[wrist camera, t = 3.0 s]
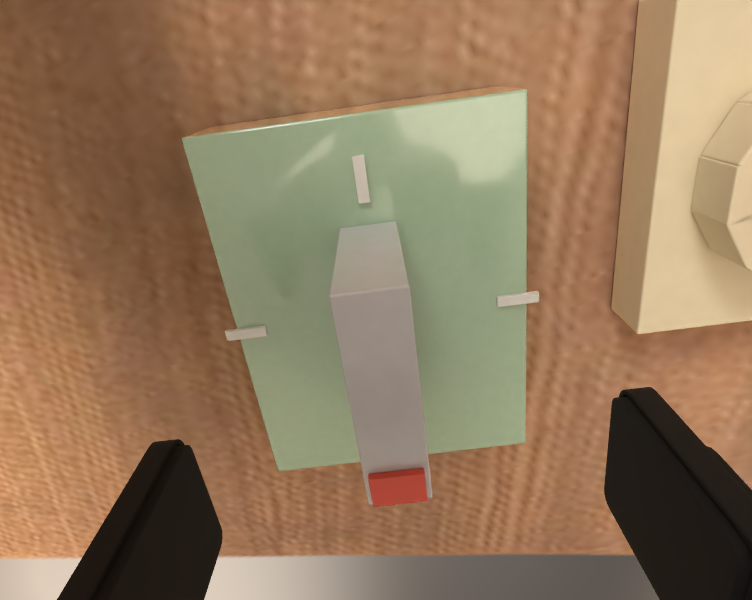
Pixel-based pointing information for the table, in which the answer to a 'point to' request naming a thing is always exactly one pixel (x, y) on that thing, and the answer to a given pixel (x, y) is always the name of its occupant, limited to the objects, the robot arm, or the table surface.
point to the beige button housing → (687, 169)
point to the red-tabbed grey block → (381, 363)
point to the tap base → (420, 250)
